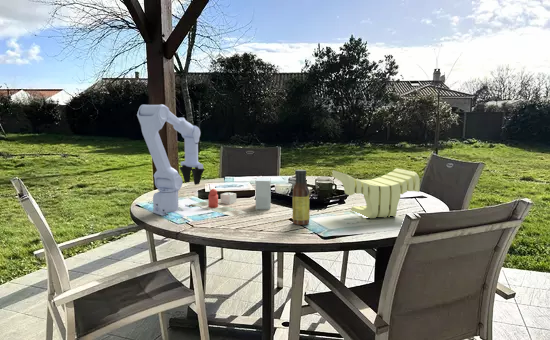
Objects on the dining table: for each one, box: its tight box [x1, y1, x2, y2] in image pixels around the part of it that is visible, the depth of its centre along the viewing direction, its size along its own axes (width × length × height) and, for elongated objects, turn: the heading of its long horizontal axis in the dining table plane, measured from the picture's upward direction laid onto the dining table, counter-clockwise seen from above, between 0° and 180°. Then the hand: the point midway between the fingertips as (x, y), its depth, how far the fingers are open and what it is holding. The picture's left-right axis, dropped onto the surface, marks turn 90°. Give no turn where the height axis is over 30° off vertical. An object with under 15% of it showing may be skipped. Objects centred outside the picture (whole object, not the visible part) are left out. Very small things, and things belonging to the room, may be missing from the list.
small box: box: [255, 177, 272, 210], centre depth 156 cm, size 8×6×13 cm
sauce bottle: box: [292, 169, 311, 226], centre depth 135 cm, size 6×6×20 cm
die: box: [220, 192, 237, 205], centre depth 164 cm, size 5×5×5 cm
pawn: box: [207, 188, 219, 209], centre depth 156 cm, size 4×4×8 cm
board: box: [188, 200, 248, 217], centre depth 154 cm, size 10×28×1 cm, turn 46°
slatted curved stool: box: [332, 167, 421, 219], centre depth 148 cm, size 30×16×18 cm, turn 106°
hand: (192, 183), depth 164 cm, fingers open, 7 cm apart
